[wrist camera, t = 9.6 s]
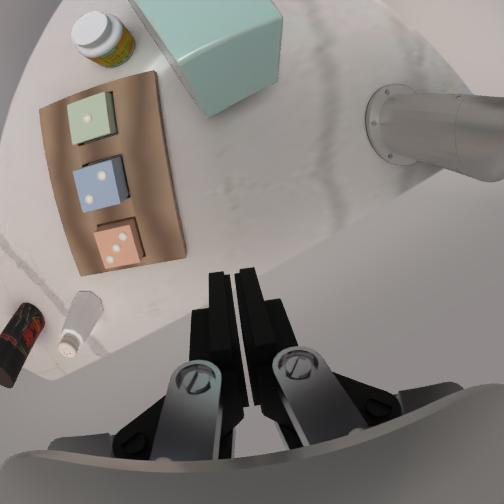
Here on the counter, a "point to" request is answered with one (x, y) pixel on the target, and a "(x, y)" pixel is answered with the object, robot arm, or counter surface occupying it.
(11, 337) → the deodorant
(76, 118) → the tile one
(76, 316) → the pepper shaker
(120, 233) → the tile three
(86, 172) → the tile two
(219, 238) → the counter surface
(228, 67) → the mint hexagonal clock
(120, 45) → the supplement bottle
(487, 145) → the robot arm
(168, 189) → the board
